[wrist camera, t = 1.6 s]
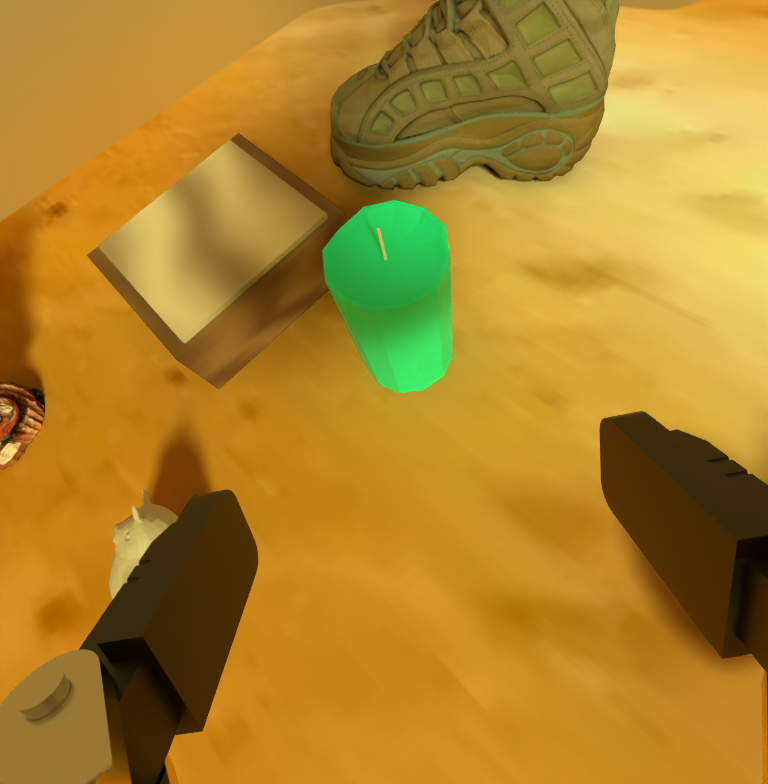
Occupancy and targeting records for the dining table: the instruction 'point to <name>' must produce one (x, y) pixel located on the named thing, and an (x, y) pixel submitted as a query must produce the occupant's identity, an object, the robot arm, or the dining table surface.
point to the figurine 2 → (136, 539)
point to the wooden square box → (223, 258)
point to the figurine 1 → (18, 420)
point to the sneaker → (479, 94)
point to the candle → (394, 292)
